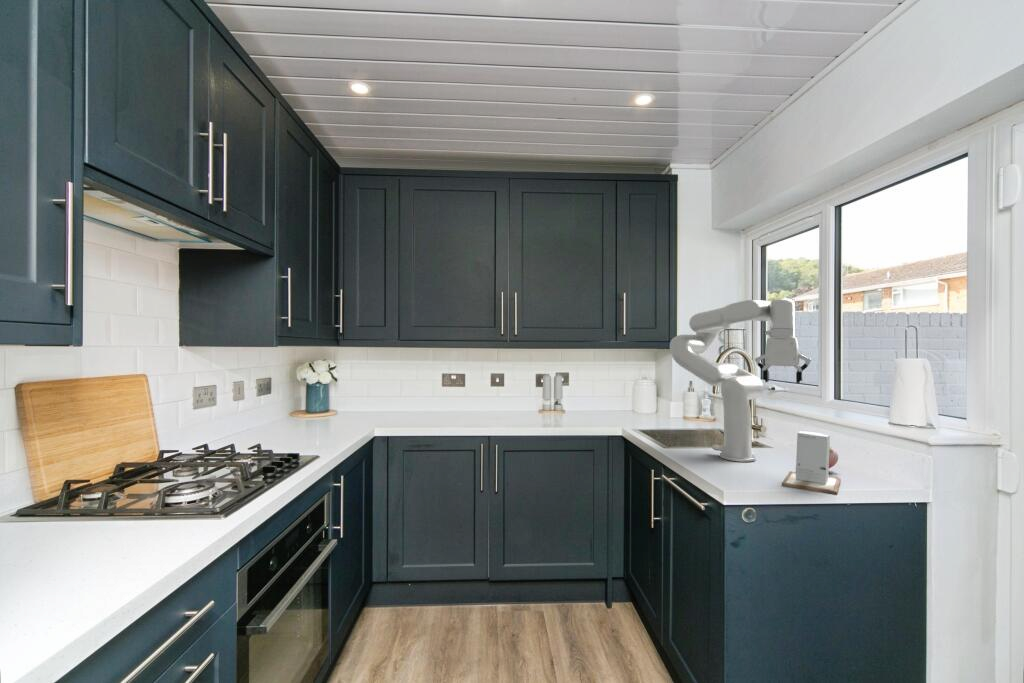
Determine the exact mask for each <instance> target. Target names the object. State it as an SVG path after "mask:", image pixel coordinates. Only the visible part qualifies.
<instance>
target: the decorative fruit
mask: <svg viewBox="0 0 1024 683" xmlns="http://www.w3.org/2000/svg"><path fill="white" fill-rule="evenodd" d="M838 461H839V454H838V453H837V451H836V449H834V448H833V447H831V446H830V447H829V469H831V468H833V467H834V466H836V464H837V463H838Z"/></svg>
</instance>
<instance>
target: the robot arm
mask: <svg viewBox="0 0 1024 683" xmlns="http://www.w3.org/2000/svg"><path fill="white" fill-rule="evenodd" d="M748 321H754V322H755V321H758V322H768V321H769V330H766V331H765V335H766V336H769V337H767V339H766V343H765V352H764V354H762V355H760V356H759V355H758V356H757V357H755V358H754V361H755V362H756V365H757V366H758V367H759V368H760V369H761V371H762V372H763V374H762V375H763V376H762V377H763V378H762V379H763V380H764V382H765V383H768V382H769V381H770V371H769V369H770V367H794V368H795V369H796V375H795V376H796V377H795V378H796V380H795V381H796V382H795V383H796V384H800V383H801V382H803V371H804V370H806V369H807V368H808V367H809V365H810V364H811V362H812V359H811V358H809V357H806V356H805V355H803V354H801V353H800V351H799V342H798V338H797V337H795V301H794V300H792V299H790V298H778V299H776V298H775V299H772V300H760V299H747V300H742V301H737V302H734V303H733V302H732V303H730V304H726V305H725V306H723V307H720V308H716V309H715V308H714V309H710V310H707V311H701V312H698V313H695V314H693V315H692V316H691V317H690V319H689V324H688V325H689V328H690V329H691V331H693V332H694V333H695V334H679V335H676V336H675V337H673V338H671V340H670V342H669V352H670V355H671V357H672V358H673V361H674V362H675V363H677V364H678V365H679V366H680V367H681V368H682V369H684V370H686V371H688V372H689V373H691V374H693V376H695V377H697V378H698V379H700V380H702V381H703V382H704V383H706V384H708V385H710V386H712V387H720V393H721V399H722V404H723V405H722V406H723V444H721V445H719V444H712V450H713V451H720V453H719V457H720V458H721V459H724V460H727V461H733V462H741V463H749V462H750V463H751V462H755V461H757V456H756V455H754V454H752V409H751V406H750V403H749V401H750V400H756V399H759V398H760V397H761V396H762V395H763V393H764V392H765V388H764V387H765V386H764V383H763V382H762V380H761V379H760V378H759V377H757V375H754V374H752V373H751V372H750V371H747V370H745V369H744V368H742V367H740V366H738V365H736V364H734V363H731V362H715V361H713V360H710V359H709V358H707V357H706V356H703V355H702V354H703V353H705V352H706V351H707V350H708V349H709V348H710V346H711V345H712V343H713V342H714V341H715V339H716V338H717V337H718V335H719V334H720V332H721V330H727V329H730V328H731V327H732V326H733V325H734V324H737V323H742V322H748ZM763 359H764V363H765V365H764V364H763V363H762V362H761V361H762V360H763ZM800 359H801V360H803V361H804V364H803V365H802V366H801V365H800Z"/></svg>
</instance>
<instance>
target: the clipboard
mask: <svg viewBox="0 0 1024 683" xmlns="http://www.w3.org/2000/svg"><path fill="white" fill-rule="evenodd" d="M782 485H783V486H784V487H788V486H789V488H794V487H795V489H801V490H802V489H803V490H807V491H813V492H820V493H826V494H831V495H838V492H839V489H838V488H840V485H841V478H837V477H831V476H828V482H827V483H826V484H821V483H816V482H809V481H803V480H797V479H796V471H791V470H790V471H789V472H788V473H787V475H786V476H785V477H784V479H783V480H782V482H781V486H782ZM783 486H782V487H783Z"/></svg>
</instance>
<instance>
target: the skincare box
mask: <svg viewBox="0 0 1024 683" xmlns="http://www.w3.org/2000/svg"><path fill="white" fill-rule="evenodd" d="M830 440H831V435H830V434H825V433H821V432H814V431H813V432H812V431H804V430H800V431H797V434H796V457H795V458H796V459H795V472H796V479H797V480H803V481H809V482H816V483H821V484H826V483H827V482H828V477H829V474H830V470H829V469H830V468H829V447H831V444H830V443H831V442H830Z"/></svg>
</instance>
